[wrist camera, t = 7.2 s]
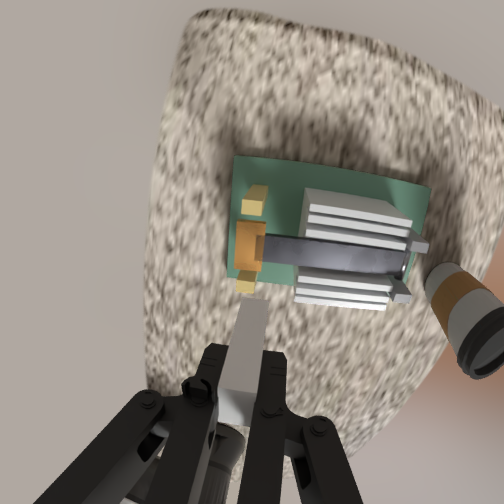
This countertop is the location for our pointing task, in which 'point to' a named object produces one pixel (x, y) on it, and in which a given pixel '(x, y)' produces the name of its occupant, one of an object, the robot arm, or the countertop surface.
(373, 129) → the countertop surface
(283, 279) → the heatsink base
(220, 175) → the countertop surface
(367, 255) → the strap
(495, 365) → the coffee cup
